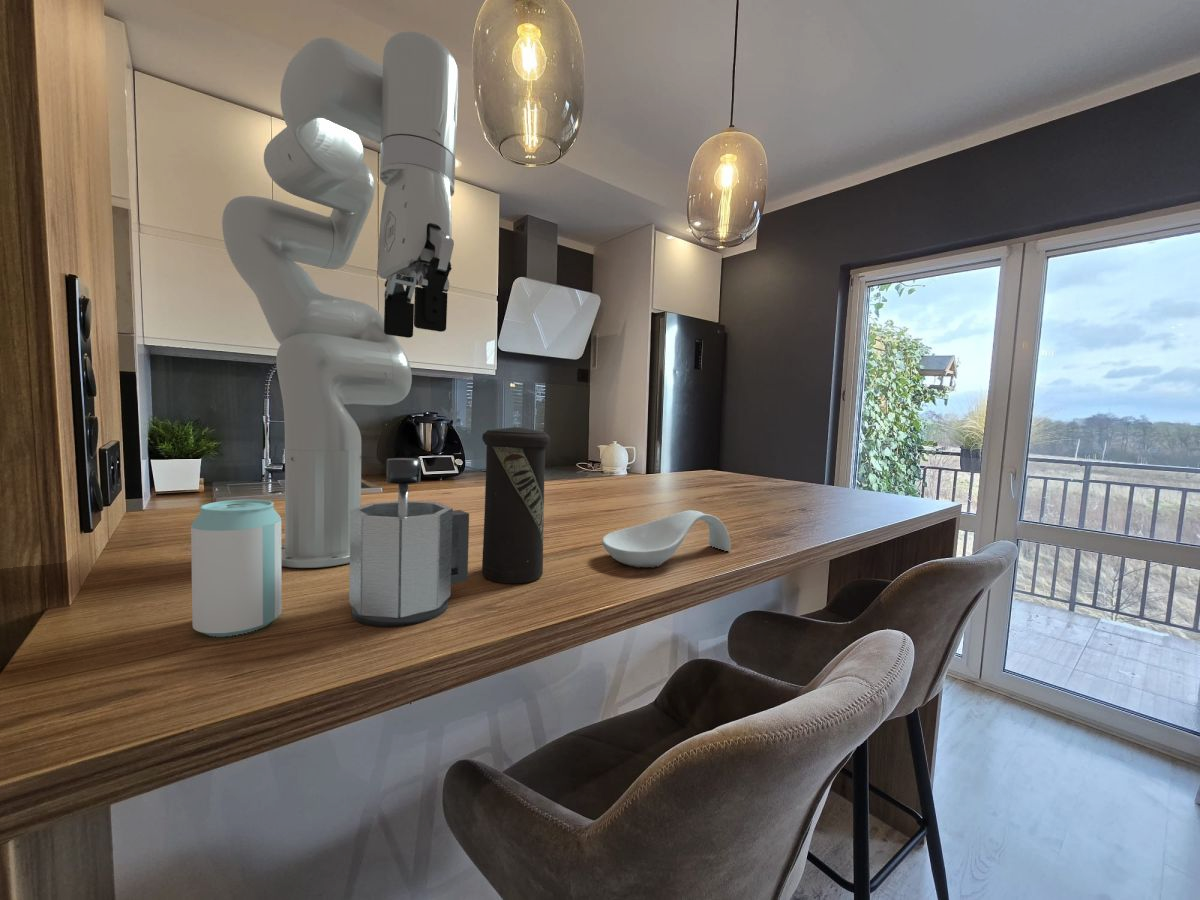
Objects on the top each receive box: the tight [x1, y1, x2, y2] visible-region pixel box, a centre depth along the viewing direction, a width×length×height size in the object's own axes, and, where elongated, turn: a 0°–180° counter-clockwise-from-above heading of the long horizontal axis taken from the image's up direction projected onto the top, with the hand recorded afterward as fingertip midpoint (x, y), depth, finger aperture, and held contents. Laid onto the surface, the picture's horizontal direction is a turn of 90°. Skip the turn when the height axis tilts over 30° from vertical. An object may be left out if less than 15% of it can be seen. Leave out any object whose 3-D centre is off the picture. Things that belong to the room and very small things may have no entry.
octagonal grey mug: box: [348, 500, 470, 628], centre depth 55 cm, size 10×12×11 cm
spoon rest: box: [601, 509, 732, 568], centre depth 79 cm, size 24×12×7 cm, turn 124°
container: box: [481, 427, 551, 584], centre depth 66 cm, size 9×9×20 cm
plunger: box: [385, 457, 422, 517], centre depth 54 cm, size 7×7×13 cm
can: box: [190, 499, 282, 638], centre depth 48 cm, size 7×7×12 cm
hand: (413, 333), depth 55 cm, fingers open, 9 cm apart
